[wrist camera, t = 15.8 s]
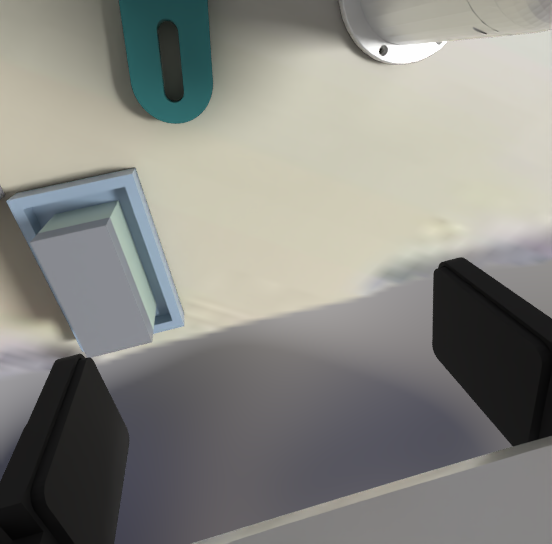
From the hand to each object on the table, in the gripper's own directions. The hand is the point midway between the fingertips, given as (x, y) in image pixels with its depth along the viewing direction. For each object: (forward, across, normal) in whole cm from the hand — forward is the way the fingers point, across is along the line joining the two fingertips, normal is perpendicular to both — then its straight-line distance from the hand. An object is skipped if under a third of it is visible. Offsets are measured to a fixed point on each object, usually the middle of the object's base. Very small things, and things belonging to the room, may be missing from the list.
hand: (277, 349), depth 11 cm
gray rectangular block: (+31, +13, +9) cm, 35 cm away
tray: (+32, +13, +9) cm, 36 cm away
